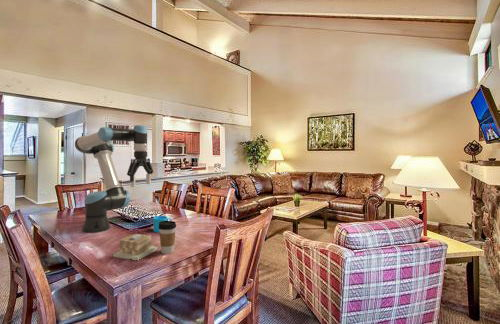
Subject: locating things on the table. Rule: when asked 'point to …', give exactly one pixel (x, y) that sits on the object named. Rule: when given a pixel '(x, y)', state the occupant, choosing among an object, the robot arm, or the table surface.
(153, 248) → the base
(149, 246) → the collar
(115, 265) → the table surface
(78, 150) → the robot arm
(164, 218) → the mug
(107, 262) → the table surface
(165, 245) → the coffee cup
